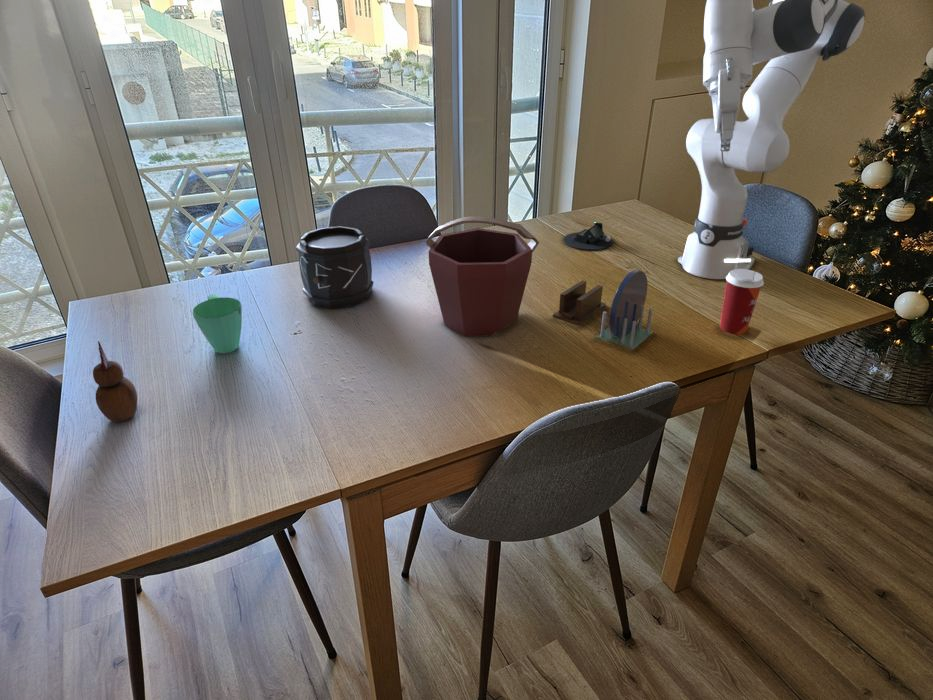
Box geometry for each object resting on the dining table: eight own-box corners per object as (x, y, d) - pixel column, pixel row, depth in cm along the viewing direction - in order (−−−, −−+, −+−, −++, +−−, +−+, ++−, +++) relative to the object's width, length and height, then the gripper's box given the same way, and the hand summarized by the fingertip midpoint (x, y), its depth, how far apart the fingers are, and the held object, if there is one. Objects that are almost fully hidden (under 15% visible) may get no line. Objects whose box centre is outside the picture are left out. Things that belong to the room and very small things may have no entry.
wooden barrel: (288, 304, 153) (278, 245, 145) (328, 277, 168) (320, 221, 160) (350, 316, 147) (343, 255, 139) (386, 287, 162) (381, 230, 154)
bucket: (544, 311, 149) (550, 210, 136) (511, 353, 132) (514, 243, 119) (453, 293, 158) (451, 198, 145) (411, 331, 141) (405, 227, 128)
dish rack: (616, 323, 143) (620, 296, 139) (652, 335, 138) (657, 307, 134) (595, 340, 136) (598, 312, 133) (632, 353, 131) (636, 324, 128)
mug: (253, 352, 133) (244, 311, 128) (206, 363, 129) (195, 322, 124) (242, 324, 144) (233, 285, 139) (197, 334, 141) (187, 294, 136)
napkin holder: (580, 301, 153) (583, 277, 150) (605, 309, 149) (608, 284, 146) (552, 320, 145) (554, 295, 141) (578, 329, 141) (580, 303, 138)
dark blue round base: (601, 254, 180) (603, 236, 177) (555, 244, 187) (556, 227, 184) (620, 238, 191) (622, 221, 188) (575, 230, 198) (577, 213, 195)
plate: (637, 320, 142) (646, 260, 134) (642, 322, 141) (651, 261, 133) (605, 346, 132) (613, 283, 124) (610, 348, 131) (618, 285, 124)
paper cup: (753, 341, 135) (768, 283, 128) (716, 338, 137) (730, 280, 129) (746, 324, 142) (761, 268, 135) (712, 322, 143) (724, 266, 136)
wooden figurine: (114, 406, 117) (89, 337, 109) (146, 404, 117) (123, 335, 109) (99, 427, 111) (71, 357, 103) (132, 426, 111) (107, 355, 103)
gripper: (749, 49, 107) (748, 131, 108) (742, 86, 126) (740, 154, 127) (710, 55, 109) (709, 135, 111) (709, 90, 128) (708, 157, 130)
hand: (726, 145), depth 119 cm, fingers open, 8 cm apart
